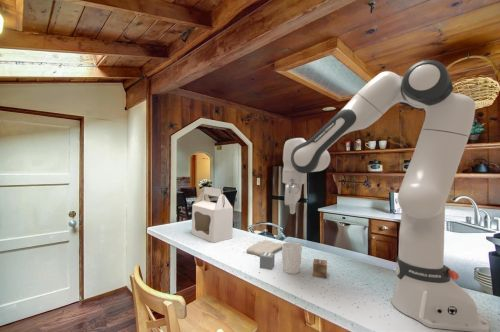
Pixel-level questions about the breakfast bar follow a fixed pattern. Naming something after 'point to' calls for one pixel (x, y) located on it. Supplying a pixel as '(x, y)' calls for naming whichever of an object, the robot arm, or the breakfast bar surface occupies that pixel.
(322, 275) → the walnut block
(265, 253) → the slate-grey block
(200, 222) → the gable box
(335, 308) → the breakfast bar surface
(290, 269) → the white cup
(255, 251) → the washcloth
